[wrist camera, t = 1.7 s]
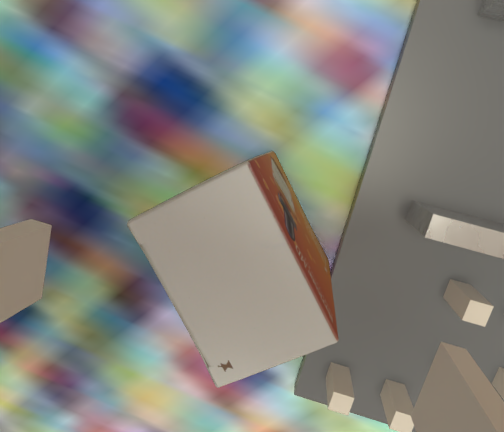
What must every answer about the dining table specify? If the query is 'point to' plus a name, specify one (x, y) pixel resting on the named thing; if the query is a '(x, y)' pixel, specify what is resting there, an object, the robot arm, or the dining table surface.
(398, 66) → the board
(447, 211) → the end holder
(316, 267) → the small box
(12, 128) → the dining table surface
